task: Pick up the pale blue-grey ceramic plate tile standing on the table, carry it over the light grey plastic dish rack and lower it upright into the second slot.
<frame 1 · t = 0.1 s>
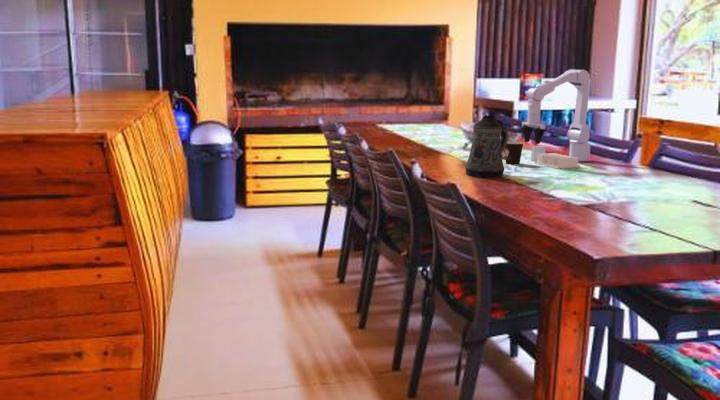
hand: (532, 142, 317), 10 cm above the table, tool pointing down, fingers open, 7 cm apart
coffee mug: (511, 163, 321), on the table
dish rack: (556, 165, 315), on the table
teacup with lid: (496, 157, 339), on the table
beer stein: (485, 174, 291), on the table
plate tile: (537, 160, 329), on the table
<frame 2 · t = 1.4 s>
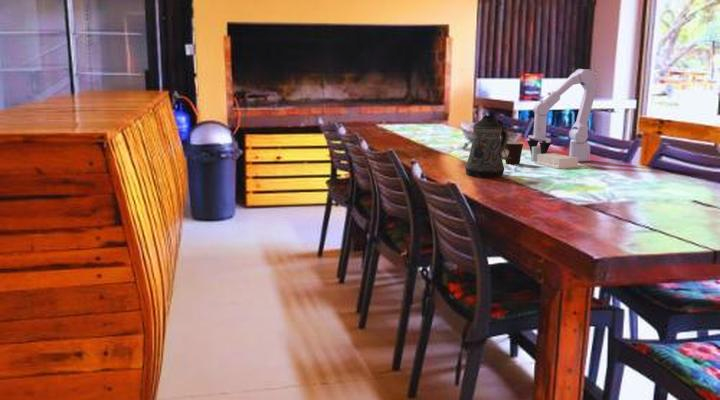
hand: (538, 155, 329), 2 cm above the table, tool pointing down, fingers open, 7 cm apart
nothing on the table moved.
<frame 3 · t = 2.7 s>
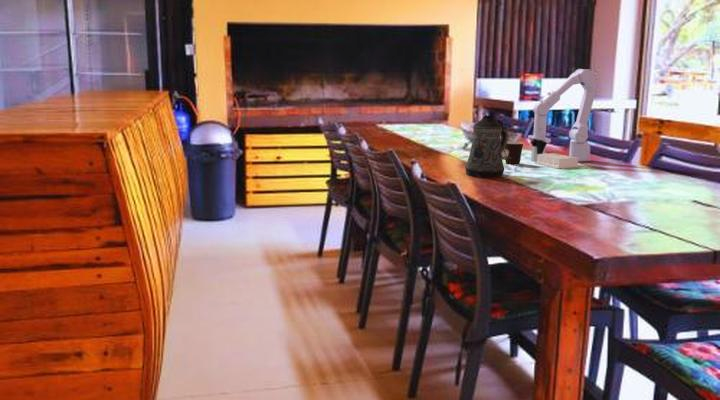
hand: (538, 155, 329), 2 cm above the table, tool pointing down, fingers closed on plate tile, 2 cm apart
plate tile: (537, 160, 329), on the table, touching gripper
everything else where it was.
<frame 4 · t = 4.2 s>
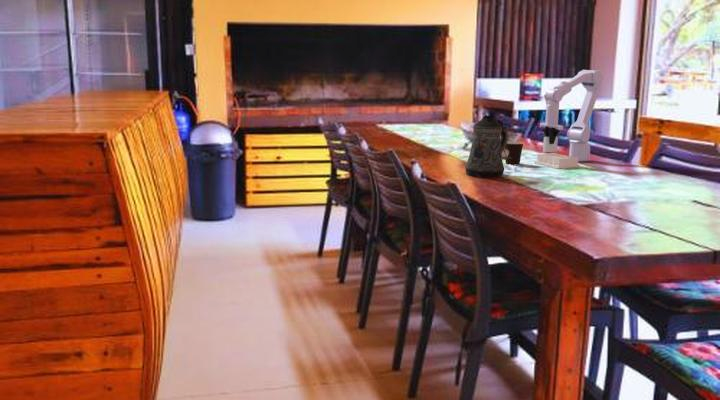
hand: (550, 143, 319), 9 cm above the table, tool pointing down, fingers closed on plate tile
plate tile: (549, 151, 320), point 6 cm above the table, touching gripper
everything else where it was.
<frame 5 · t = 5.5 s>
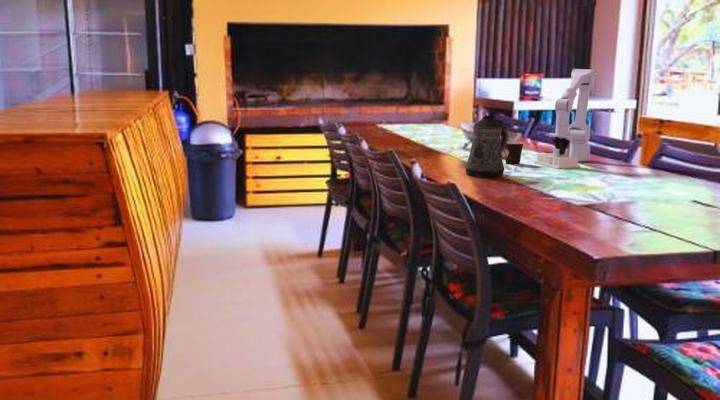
hand: (560, 154, 313), 5 cm above the table, tool pointing down, fingers closed on plate tile, 2 cm apart
plate tile: (559, 163, 314), point 1 cm above the table, touching dish rack, gripper
everything else where it was.
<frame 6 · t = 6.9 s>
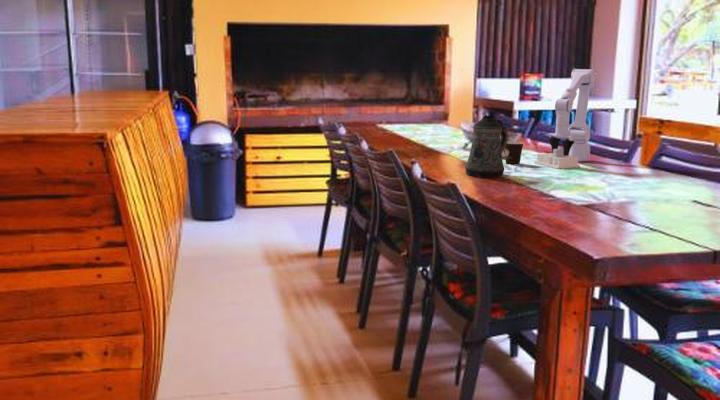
hand: (560, 154, 313), 5 cm above the table, tool pointing down, fingers open, 7 cm apart
plate tile: (559, 163, 314), point 1 cm above the table, touching dish rack
everything else where it was.
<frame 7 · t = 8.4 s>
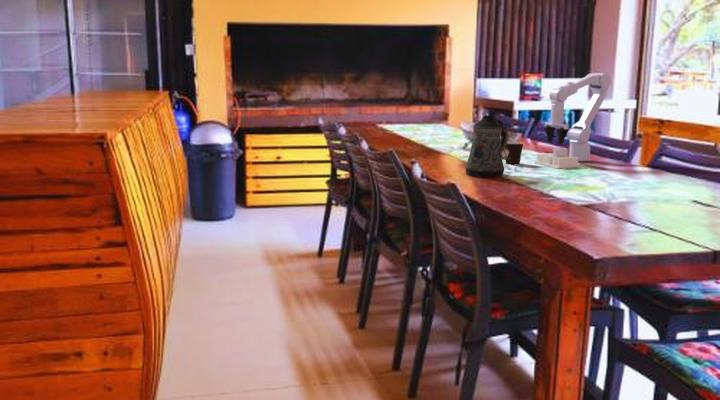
hand: (555, 142, 323), 9 cm above the table, tool pointing down, fingers open, 7 cm apart
nothing on the table moved.
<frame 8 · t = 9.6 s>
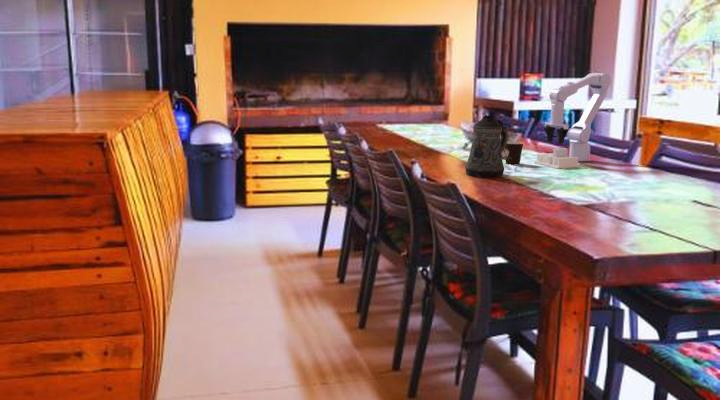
hand: (555, 142, 323), 9 cm above the table, tool pointing down, fingers open, 7 cm apart
nothing on the table moved.
at the end: plate tile 0.0 cm from the target spot on the dish rack, point 1.0 cm above the dish rack's base; plate tile tilted 0°; the gripper is holding nothing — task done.
